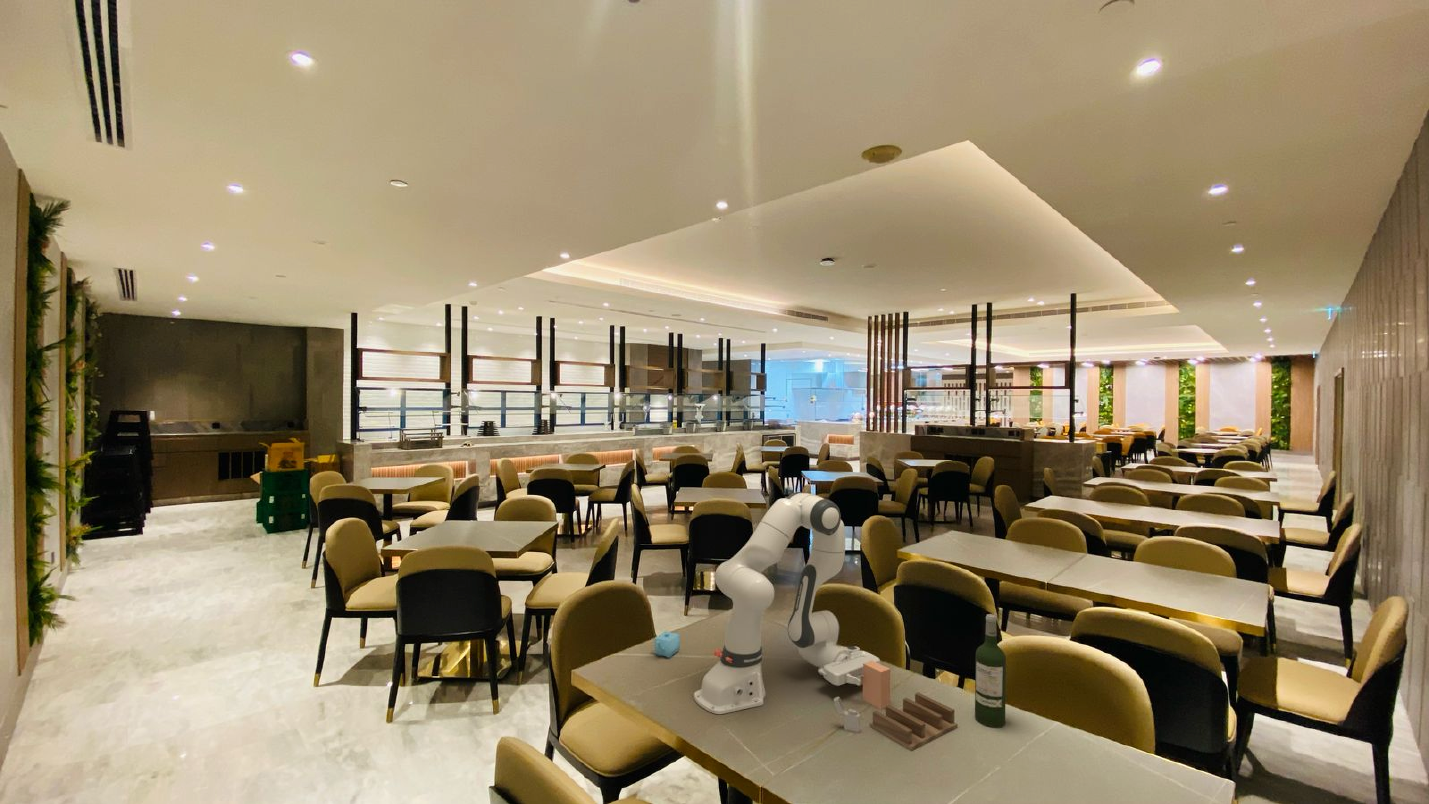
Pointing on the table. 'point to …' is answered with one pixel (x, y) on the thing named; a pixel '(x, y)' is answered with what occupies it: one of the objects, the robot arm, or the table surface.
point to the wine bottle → (990, 679)
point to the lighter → (848, 716)
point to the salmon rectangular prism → (876, 684)
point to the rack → (915, 721)
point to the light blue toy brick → (667, 644)
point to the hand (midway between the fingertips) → (871, 678)
